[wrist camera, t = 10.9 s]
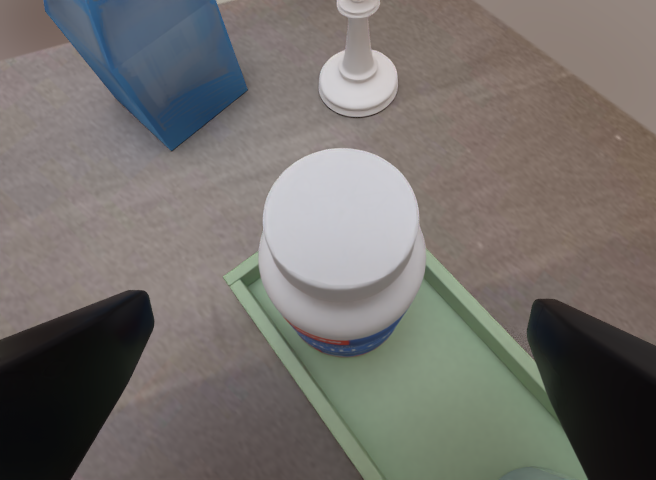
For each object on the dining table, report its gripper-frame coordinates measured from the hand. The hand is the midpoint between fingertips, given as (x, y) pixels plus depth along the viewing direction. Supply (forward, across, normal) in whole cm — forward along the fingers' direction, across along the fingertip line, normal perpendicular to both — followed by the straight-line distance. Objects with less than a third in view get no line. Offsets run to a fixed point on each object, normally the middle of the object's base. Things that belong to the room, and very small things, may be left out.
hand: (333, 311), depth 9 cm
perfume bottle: (+18, +11, -4) cm, 22 cm away
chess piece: (+19, 0, -4) cm, 19 cm away
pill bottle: (+9, 0, +5) cm, 10 cm away
